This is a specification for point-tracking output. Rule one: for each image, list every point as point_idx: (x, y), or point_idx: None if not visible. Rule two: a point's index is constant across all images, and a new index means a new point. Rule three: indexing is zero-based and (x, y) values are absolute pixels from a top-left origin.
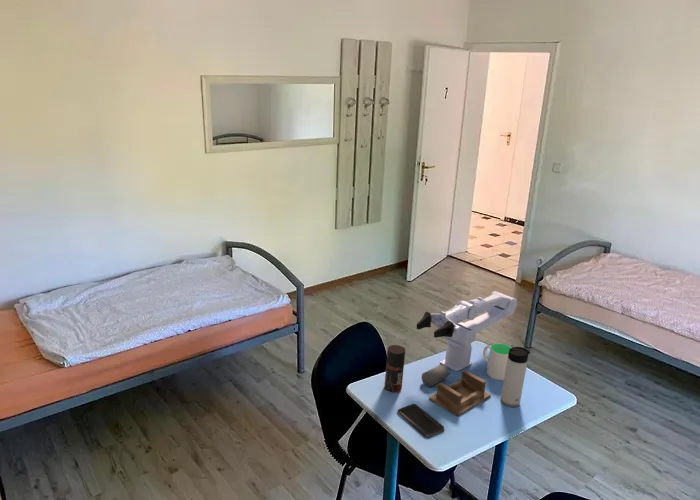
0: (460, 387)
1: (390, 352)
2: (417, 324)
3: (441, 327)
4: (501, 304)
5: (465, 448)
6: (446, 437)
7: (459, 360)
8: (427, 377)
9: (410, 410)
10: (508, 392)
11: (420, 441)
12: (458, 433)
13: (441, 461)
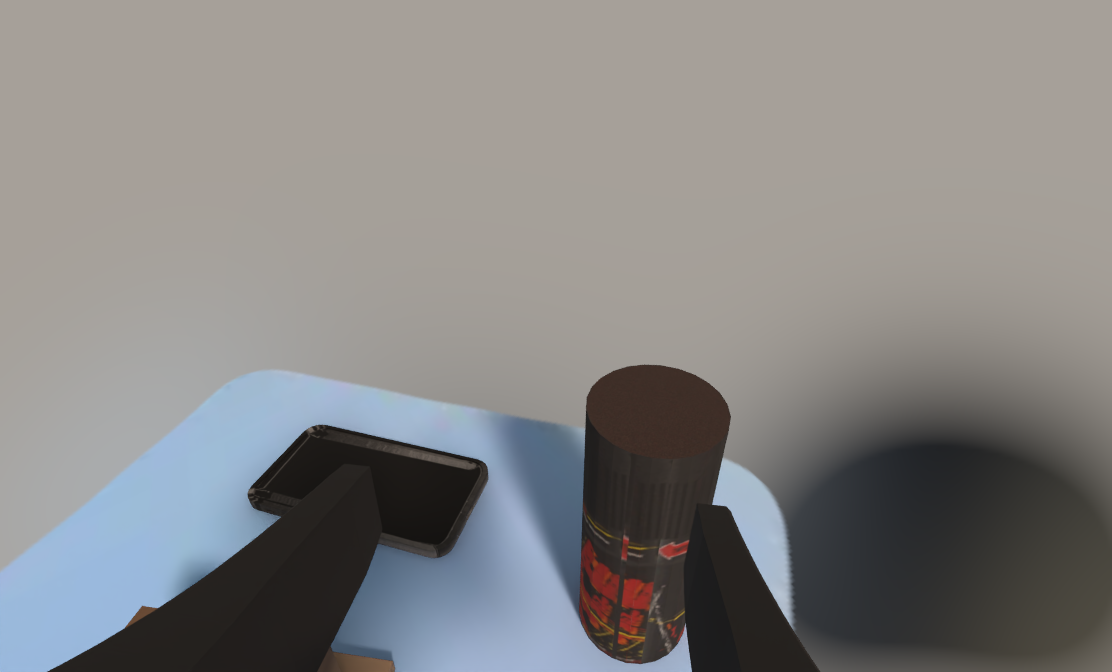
0: None
1: (655, 367)
2: (712, 511)
3: (255, 570)
4: None
5: (144, 470)
6: (234, 475)
7: None
8: None
9: (438, 501)
10: None
11: (332, 409)
12: (177, 524)
13: (239, 385)
